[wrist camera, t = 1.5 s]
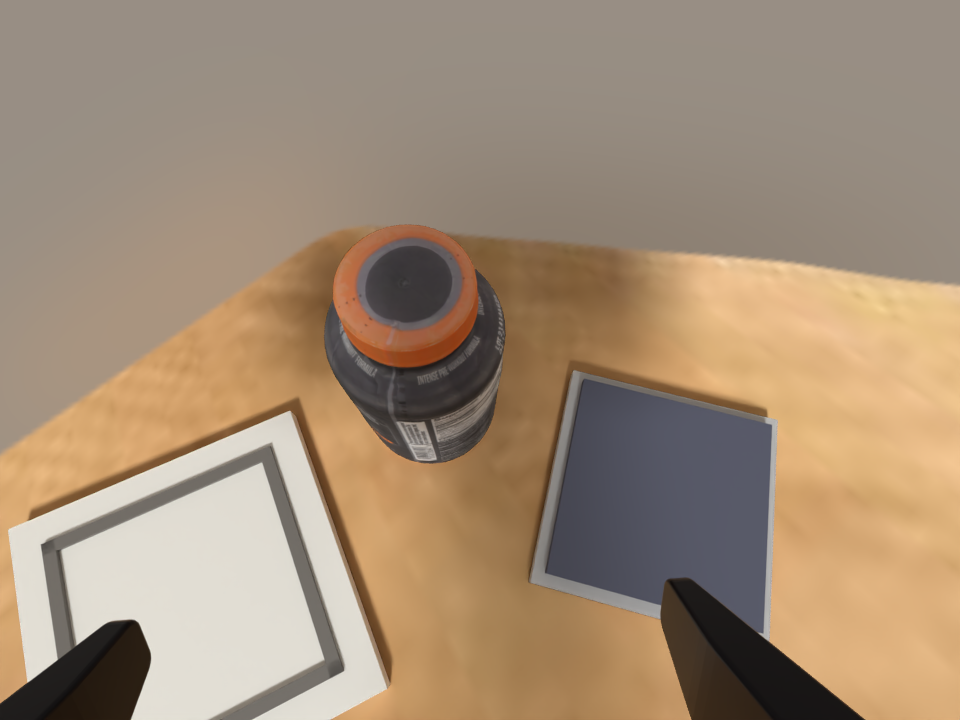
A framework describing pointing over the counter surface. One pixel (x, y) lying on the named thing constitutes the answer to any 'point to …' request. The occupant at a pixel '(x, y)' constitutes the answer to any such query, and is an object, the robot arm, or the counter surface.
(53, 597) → the board
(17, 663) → the counter surface
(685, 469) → the ink pad
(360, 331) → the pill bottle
